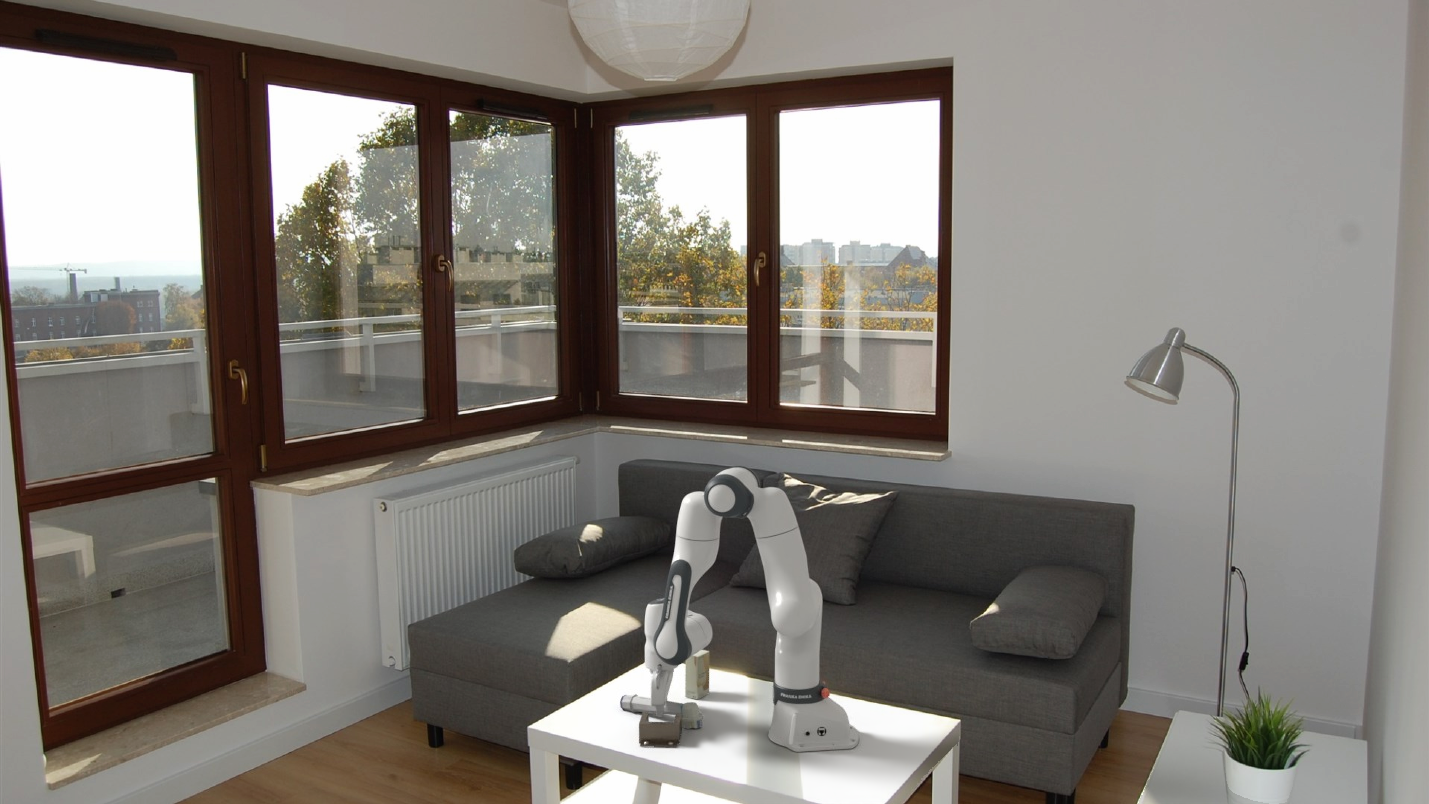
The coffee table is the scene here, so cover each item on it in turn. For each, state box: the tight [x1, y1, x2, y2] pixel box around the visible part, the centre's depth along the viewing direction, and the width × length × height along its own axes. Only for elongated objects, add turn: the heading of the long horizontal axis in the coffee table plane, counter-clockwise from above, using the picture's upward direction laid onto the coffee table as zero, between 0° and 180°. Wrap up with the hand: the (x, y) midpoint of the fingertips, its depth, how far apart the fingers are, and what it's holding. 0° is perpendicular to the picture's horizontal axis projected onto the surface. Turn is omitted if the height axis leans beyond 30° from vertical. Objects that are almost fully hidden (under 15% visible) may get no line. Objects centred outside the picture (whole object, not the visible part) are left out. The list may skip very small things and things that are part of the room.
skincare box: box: [684, 649, 710, 700], centre depth 297 cm, size 6×4×12 cm
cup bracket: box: [638, 712, 683, 749], centre depth 268 cm, size 10×10×5 cm
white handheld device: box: [619, 694, 704, 730], centre depth 281 cm, size 5×7×25 cm
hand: (661, 710), depth 281 cm, fingers closed on white handheld device, 7 cm apart
